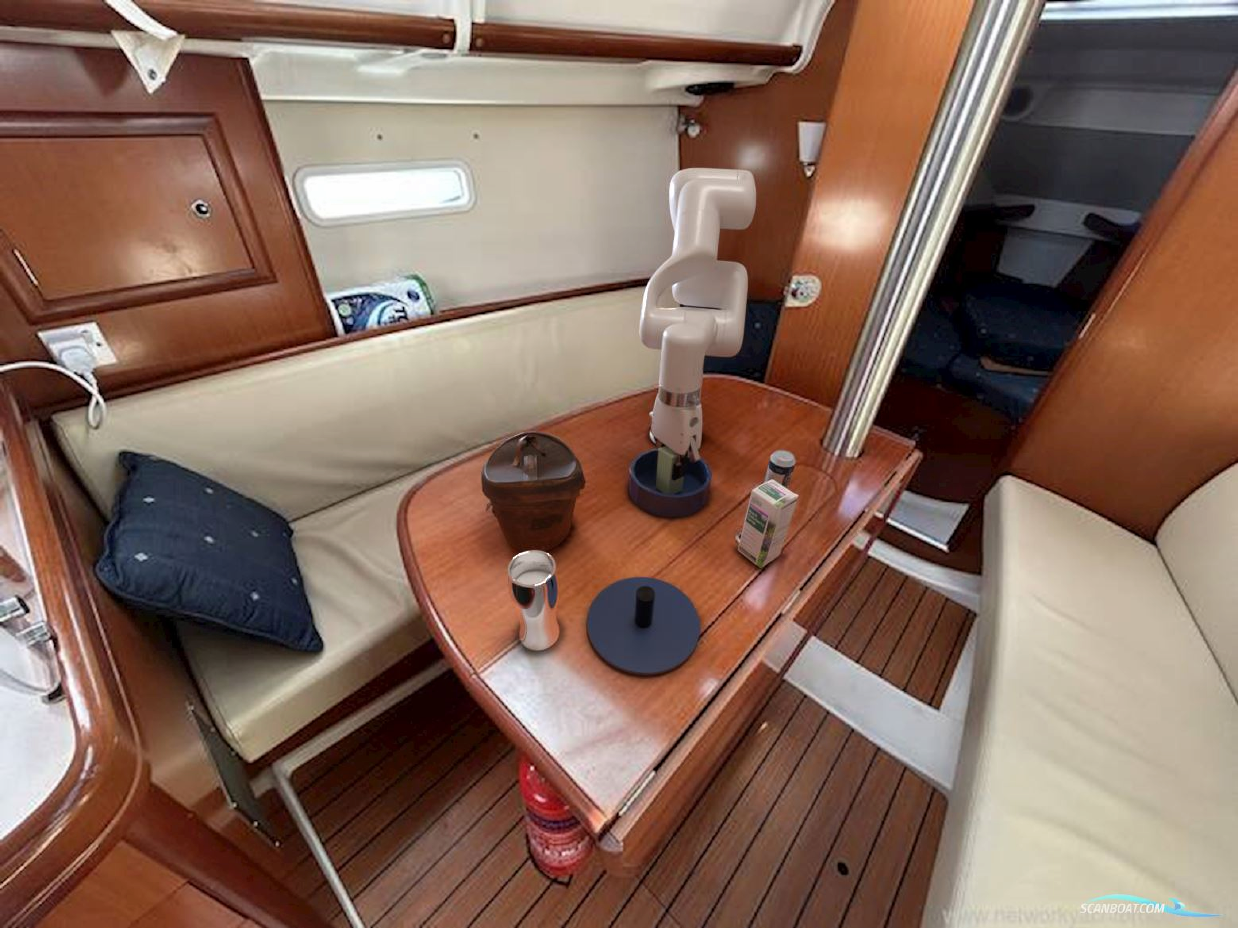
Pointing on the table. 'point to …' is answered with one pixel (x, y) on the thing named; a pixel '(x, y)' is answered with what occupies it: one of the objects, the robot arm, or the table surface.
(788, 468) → the pill bottle
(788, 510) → the syrup box
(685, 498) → the pot
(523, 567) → the beer glass
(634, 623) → the lid
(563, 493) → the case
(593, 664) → the table surface
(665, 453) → the block
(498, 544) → the table surface
